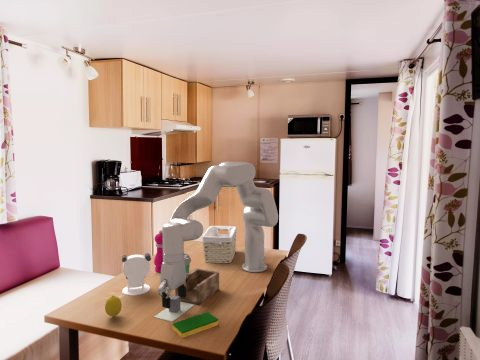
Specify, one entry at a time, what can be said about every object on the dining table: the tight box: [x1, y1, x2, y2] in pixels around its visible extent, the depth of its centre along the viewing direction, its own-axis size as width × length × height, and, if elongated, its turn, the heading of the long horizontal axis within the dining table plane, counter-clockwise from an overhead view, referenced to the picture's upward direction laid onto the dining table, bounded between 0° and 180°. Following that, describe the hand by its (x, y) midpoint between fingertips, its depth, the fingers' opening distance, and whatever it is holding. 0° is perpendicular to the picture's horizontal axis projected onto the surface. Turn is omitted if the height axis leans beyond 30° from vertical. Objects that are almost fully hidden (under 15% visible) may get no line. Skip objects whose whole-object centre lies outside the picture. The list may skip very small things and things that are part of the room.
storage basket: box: [201, 225, 237, 264], centre depth 191 cm, size 24×16×15 cm
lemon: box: [104, 295, 123, 318], centre depth 124 cm, size 6×6×8 cm
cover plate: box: [153, 294, 195, 323], centre depth 129 cm, size 14×8×6 cm, turn 155°
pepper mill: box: [153, 229, 163, 273], centre depth 170 cm, size 7×7×20 cm
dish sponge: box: [172, 311, 219, 339], centre depth 118 cm, size 7×14×2 cm, turn 127°
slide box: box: [174, 268, 220, 306], centre depth 143 cm, size 16×11×8 cm
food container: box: [184, 252, 192, 273], centre depth 160 cm, size 12×6×10 cm, turn 168°
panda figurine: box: [121, 252, 152, 297], centre depth 148 cm, size 12×11×15 cm
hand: (174, 302), depth 129 cm, fingers open, 9 cm apart
